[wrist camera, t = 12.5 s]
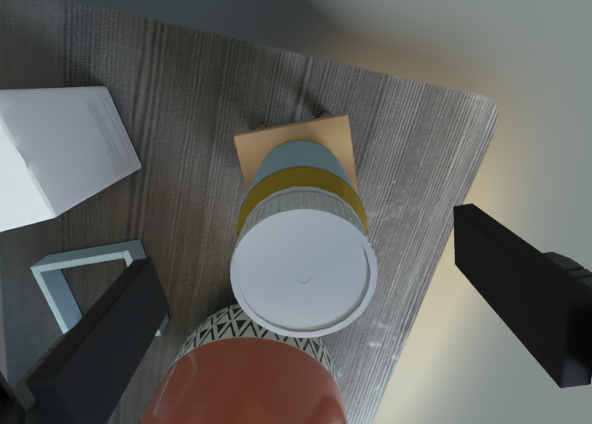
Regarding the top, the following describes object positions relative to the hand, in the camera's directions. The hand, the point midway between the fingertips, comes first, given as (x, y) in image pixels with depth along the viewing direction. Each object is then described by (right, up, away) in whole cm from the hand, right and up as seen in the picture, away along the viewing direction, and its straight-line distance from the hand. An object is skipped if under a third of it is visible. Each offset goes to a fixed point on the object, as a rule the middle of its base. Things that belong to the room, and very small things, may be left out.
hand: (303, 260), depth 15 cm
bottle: (0, +5, +14) cm, 14 cm away
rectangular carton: (-22, +10, +22) cm, 33 cm away
